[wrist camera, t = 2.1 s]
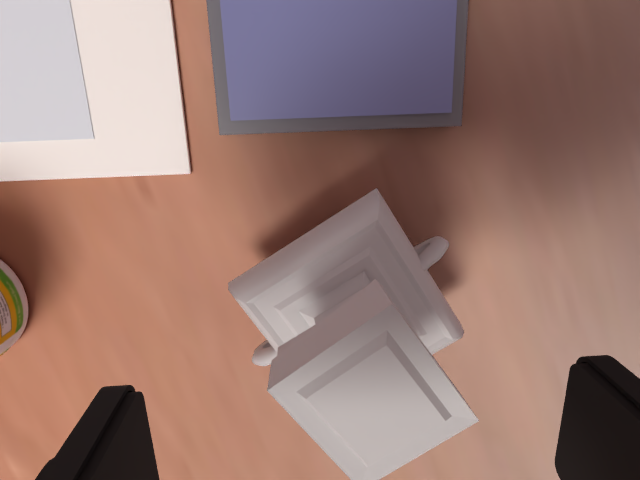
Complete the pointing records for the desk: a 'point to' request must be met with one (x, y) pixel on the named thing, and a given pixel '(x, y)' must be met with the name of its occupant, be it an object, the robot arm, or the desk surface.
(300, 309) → the stamp
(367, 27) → the ink pad
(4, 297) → the supplement bottle
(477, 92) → the desk surface
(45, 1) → the paper
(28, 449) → the desk surface
